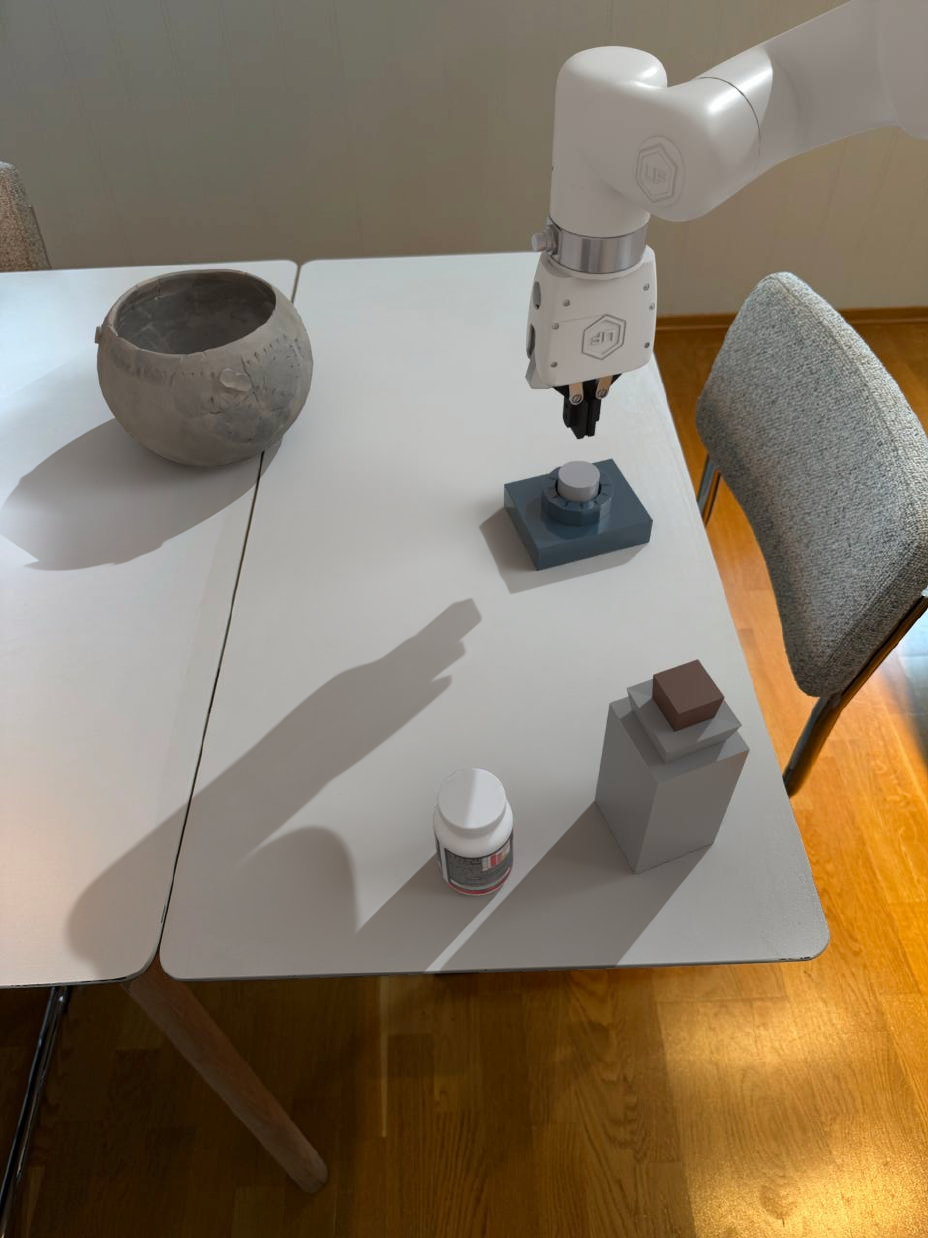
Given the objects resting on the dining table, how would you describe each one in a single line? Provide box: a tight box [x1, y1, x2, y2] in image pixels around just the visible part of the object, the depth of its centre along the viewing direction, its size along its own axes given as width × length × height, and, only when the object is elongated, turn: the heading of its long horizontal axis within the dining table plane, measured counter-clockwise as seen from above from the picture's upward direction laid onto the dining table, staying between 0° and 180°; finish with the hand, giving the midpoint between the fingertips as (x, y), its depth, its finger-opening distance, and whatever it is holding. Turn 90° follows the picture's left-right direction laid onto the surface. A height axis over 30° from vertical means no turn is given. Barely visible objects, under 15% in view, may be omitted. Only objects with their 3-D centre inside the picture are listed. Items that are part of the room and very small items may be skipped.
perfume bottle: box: [594, 658, 751, 875], centre depth 63 cm, size 7×7×18 cm
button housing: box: [503, 458, 654, 571], centre depth 90 cm, size 12×10×5 cm
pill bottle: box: [432, 767, 514, 896], centre depth 65 cm, size 6×6×10 cm
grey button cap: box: [557, 460, 600, 503], centre depth 88 cm, size 4×4×2 cm
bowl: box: [94, 268, 314, 467], centre depth 99 cm, size 23×23×15 cm
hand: (579, 428), depth 83 cm, fingers closed
